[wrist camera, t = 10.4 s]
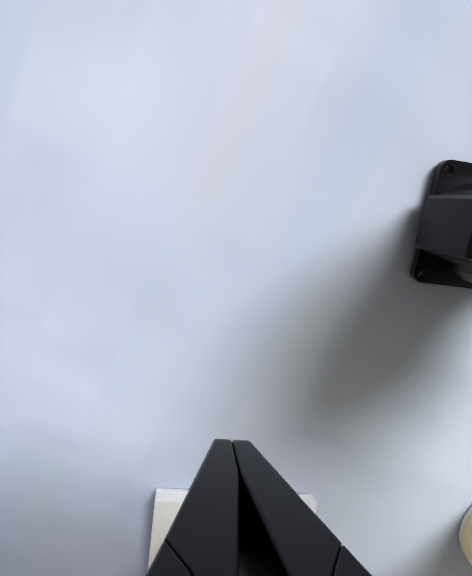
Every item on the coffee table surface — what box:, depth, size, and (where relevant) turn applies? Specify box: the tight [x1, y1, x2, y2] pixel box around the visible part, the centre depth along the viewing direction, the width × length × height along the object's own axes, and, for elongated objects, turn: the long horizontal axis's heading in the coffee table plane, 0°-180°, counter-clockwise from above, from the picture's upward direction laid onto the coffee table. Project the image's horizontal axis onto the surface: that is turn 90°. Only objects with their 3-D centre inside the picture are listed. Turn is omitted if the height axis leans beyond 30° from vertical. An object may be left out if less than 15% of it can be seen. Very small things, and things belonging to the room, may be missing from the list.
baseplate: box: [148, 488, 317, 569], centre depth 24 cm, size 10×10×1 cm
